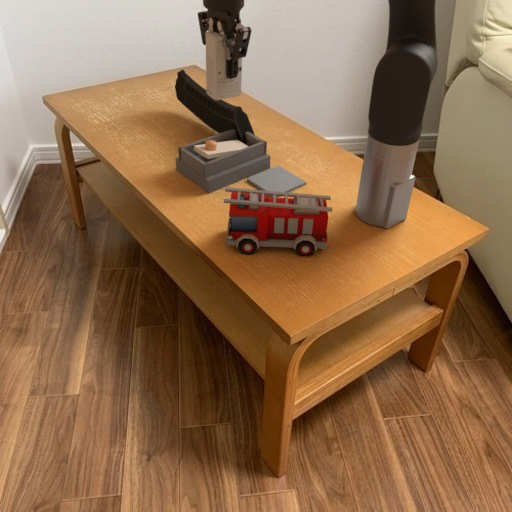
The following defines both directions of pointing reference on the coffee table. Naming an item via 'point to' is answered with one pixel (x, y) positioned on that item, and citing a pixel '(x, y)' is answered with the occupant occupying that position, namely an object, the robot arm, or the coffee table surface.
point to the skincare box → (220, 69)
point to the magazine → (211, 108)
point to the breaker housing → (223, 162)
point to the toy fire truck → (277, 221)
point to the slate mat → (276, 180)
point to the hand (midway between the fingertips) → (223, 73)
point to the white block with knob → (218, 148)
